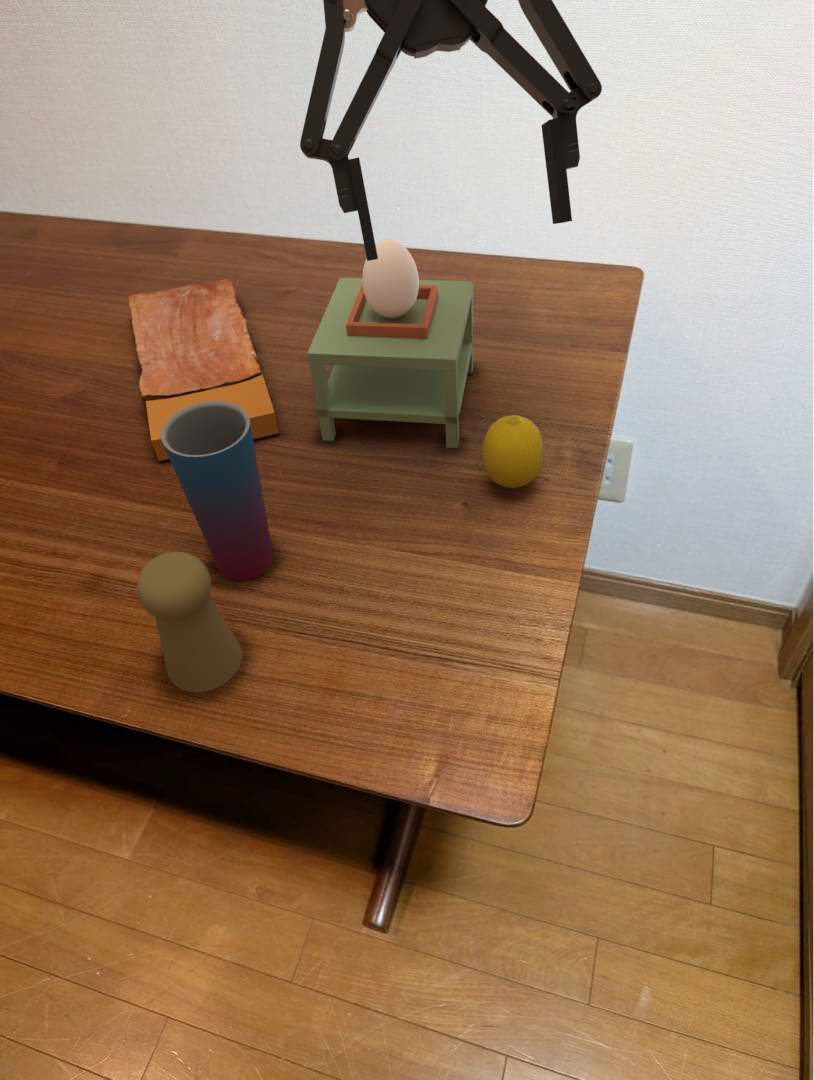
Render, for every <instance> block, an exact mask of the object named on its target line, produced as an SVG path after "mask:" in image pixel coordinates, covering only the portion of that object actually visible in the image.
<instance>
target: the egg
mask: <svg viewBox="0 0 814 1080" xmlns="http://www.w3.org/2000/svg"><path fill="white" fill-rule="evenodd" d="M375 246H376V251H377V256H378V259H375V260H370V261H367V257H365V258H366V259H365V262H364V264H363V269H362V277H361V278H362V281H363V289H364V294H365V297H366V299H367V301H368V303H369V305H370V306H371V307H372V308H373V309H374V310H375V311H376V312H377V313H378V314H380V315H381V316H383V317H386V318H397V317H401V316H402V315H404V314H405V313H407V312H408V311H409V310H410V308H411V307H412V306H413V304H414V302H415V301H416V298H417V295H418V290H419V280H420V278H419V272H418V267H417V264H416V262H415V260H414V258H413V255H412V254H411V253H410V251H409V250H408V249H407V247H406V246H405V245H403V243H401V242H399V241H398V240H395V239H392V238H386V239H381V240H380V241H378V242H377V243H375Z"/></svg>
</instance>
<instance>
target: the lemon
mask: <svg viewBox="0 0 814 1080" xmlns="http://www.w3.org/2000/svg"><path fill="white" fill-rule="evenodd" d="M481 455H482V456H481V457H482V464H483V467H484V470H485V472H486V474H487V475H488V477H489V478H490V479H491V480H492V481H493V482H494V483H495V484H497V485H499V486H502V487H504V488H508V489H516V488H520V487H521V488H522V487H523V486H526V485H528V484H529V483H530V482H532V481H533V480H534V479H535V477H536V476H537V475H538V474H539V471H540V470H541V468H542V464H543V460H544V443H543V438H542V435H541V432H540V431H539V428H538V427H537V426H536V424H535V423H534V422H532V420H530V419H528V418H527V417H524V416H522V415H518V414H517V415H516V414H515V415H514V414H512V415H511V414H510V415H505V416H503V417H501V418H498V419H497V420H496V421H495V422H493V423H492V424H491V426H490V427H489V428H488V430H487V431H486V434H485V436H484V441H483V444H482V451H481Z"/></svg>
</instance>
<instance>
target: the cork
mask: <svg viewBox="0 0 814 1080" xmlns="http://www.w3.org/2000/svg"><path fill="white" fill-rule="evenodd" d="M211 590H212V579H211V575H210V573H209V570H208V568H207V566H206V565H205V564H204V562H203V561H201V559H200V558H199V557H197V556H195V555H193V554H191V553H188V552H185V551H170V552H165V553H163V554H162V553H161V554H159V555H157V556H156V557H154V558H152V559H150V560H149V561H148V562H147V563H146V564H145V565H144V566H143V568H142V569H141V571H140V573H139V574H138V577H137V581H136V594H137V597H138V601H139V602H140V604H141V606H142V607H143V608H144V609H145V611H146V612H147V613H149V614H150V616H152V617H154V620H155V624H156V628H157V633H158V637H159V642H160V646H161V651H162V655H163V660H164V664H165V667H166V672H167V676H168V678H169V680H170V681H171V683H172V684H173V685H174V686H175V687H176V688H178V689H180V690H182V691H184V692H188V693H193V694H194V693H195V694H197V693H206V692H207V693H208V692H210V691H213V690H215V689H218V688H220V687H222V686H224V684H227V683H228V682H229V681H230V680H231V679H233V677H234V676H235V675H236V673H238V671H239V668H240V666H241V664H242V662H243V650H242V648H241V645H240V643H239V641H238V639H237V637H236V636H235V633H233V631H232V629H231V628H230V625H229V624H228V623H227V621H226V619H225V617H224V616H223V614H222V612H221V611H220V609H219V607H218V606H217V603H216V602H215V601H214V599H213V598H212V596H211Z"/></svg>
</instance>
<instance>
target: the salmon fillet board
mask: <svg viewBox="0 0 814 1080" xmlns="http://www.w3.org/2000/svg"><path fill="white" fill-rule="evenodd" d="M127 299H128V308H129V311H130V316H131V325H132V333H133V337H134V343H135V352H136V355H137V359H138V363H139V366H140V370H141V373H140V376H139V378H138V379H139V380H138V389H139V391H140V394H141V395H140V397H141V399H142V401H143V402H144V404H145V405H146V406H145V407H146V414H147V420H148V428H149V434H150V442H151V445H152V447H153V450H154V452H155V456H156V459H157V461H158V462H162V461H165V460H166V461H167V460H170V459H169V457H168V454H167V452H166V450H165V448H164V445H163V443H162V441H161V432H162V428H163V426H164V425H165V423H166V422H167V421H168V419H169V418H170V417H172V416H173V415H174V414H175V413H177V412H178V411H180V410H182V409H184V408H186V407H188V406H191V405H194V404H197V403H201V402H206V401H225V402H230V403H233V404H236V405H238V406H240V407H241V408H243V409H244V410H245V411H246V412H247V414H248V416H249V418H250V424H251V429H252V435H253V440H255V439H260V438H263V437H268V436H273V435H276V434H280V431H279V426H278V422H277V417H276V414H275V409H274V406H273V402H272V400H271V397H270V394H269V390H268V387H267V384H266V381H265V378H264V374H263V373H262V370H261V365H260V364H259V362H258V357H257V356H258V355H257V352H256V351H255V347H254V344H253V342H252V337H251V334H250V330H249V328H248V324H247V322H248V320H247V319H246V318H245V317H244V314H243V311H242V309H241V307H240V304H239V299H238V293H237V290H236V287H235V284H234V283H233V281H231V279H229V278H223V279H219V280H213V281H210V282H203V283H196V284H195V283H194V284H189V285H184V286H179V287H175V288H168V289H161V290H157V291H156V290H155V291H150V292H139V293H135V294H129V295H128V298H127Z"/></svg>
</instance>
